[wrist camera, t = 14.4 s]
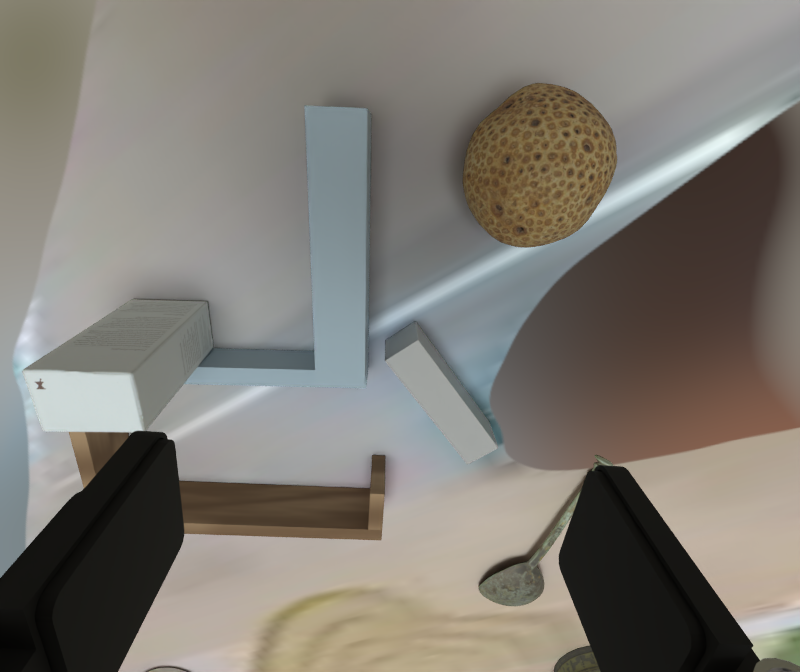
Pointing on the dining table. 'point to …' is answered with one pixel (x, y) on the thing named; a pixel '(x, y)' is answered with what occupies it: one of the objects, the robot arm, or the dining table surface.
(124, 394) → the skincare box
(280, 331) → the dining table surface
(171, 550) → the robot arm
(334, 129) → the crook
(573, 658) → the thermos
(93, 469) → the wooden u-shaped tray
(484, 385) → the dining table surface
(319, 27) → the dining table surface
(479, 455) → the grey plastic stick
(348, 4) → the dining table surface
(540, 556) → the soupspoon
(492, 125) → the natural sponge
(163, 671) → the milk bottle
